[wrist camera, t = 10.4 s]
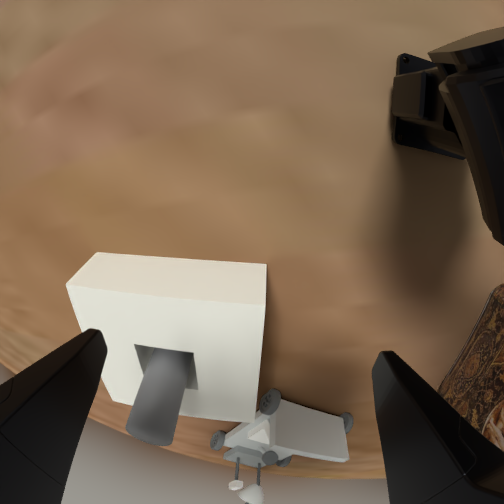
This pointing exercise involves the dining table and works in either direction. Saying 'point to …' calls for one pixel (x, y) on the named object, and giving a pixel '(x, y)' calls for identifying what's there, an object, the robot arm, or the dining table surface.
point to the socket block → (178, 326)
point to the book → (481, 373)
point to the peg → (160, 397)
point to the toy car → (282, 439)
